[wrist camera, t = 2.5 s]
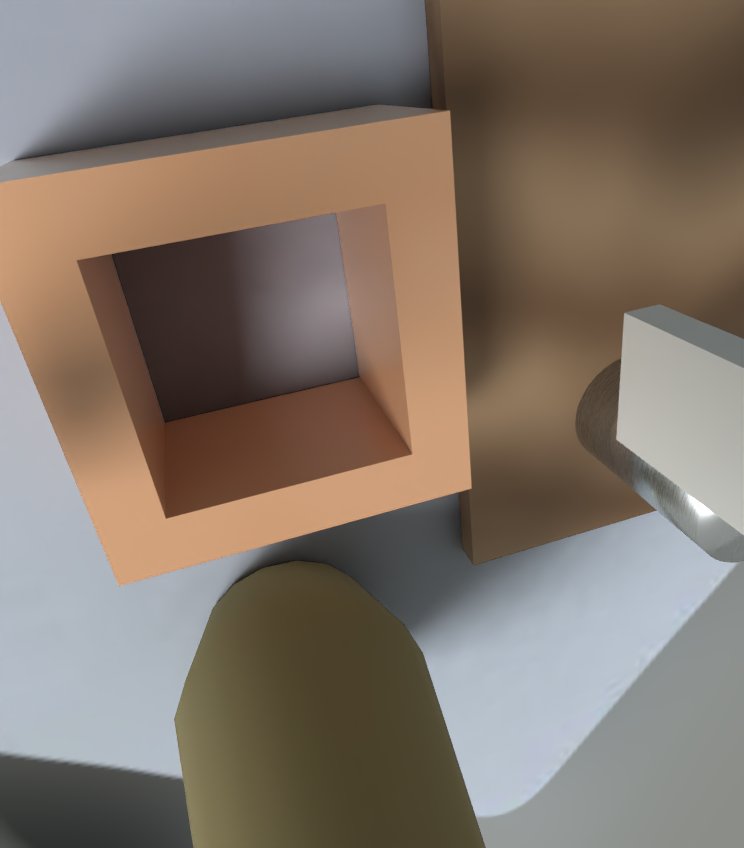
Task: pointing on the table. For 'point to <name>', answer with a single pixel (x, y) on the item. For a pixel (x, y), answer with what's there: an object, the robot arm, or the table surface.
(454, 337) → the collar
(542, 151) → the board
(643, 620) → the table surface
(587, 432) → the post
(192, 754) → the squeeze bottle
